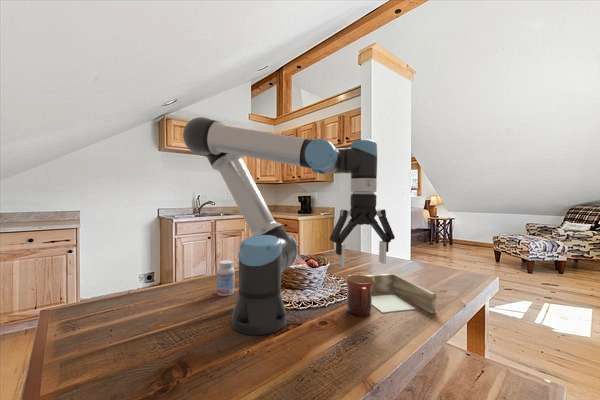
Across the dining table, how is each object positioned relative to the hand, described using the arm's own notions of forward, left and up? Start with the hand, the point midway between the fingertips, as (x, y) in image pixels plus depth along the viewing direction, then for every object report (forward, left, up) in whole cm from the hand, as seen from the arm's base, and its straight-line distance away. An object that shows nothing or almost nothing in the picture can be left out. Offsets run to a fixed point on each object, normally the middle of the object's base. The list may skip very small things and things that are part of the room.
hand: (362, 264), depth 83 cm
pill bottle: (-39, +26, -16) cm, 50 cm away
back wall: (+22, +6, -15) cm, 28 cm away
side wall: (+15, +16, -15) cm, 27 cm away
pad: (+13, +5, -15) cm, 21 cm away
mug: (0, 0, -16) cm, 16 cm away
